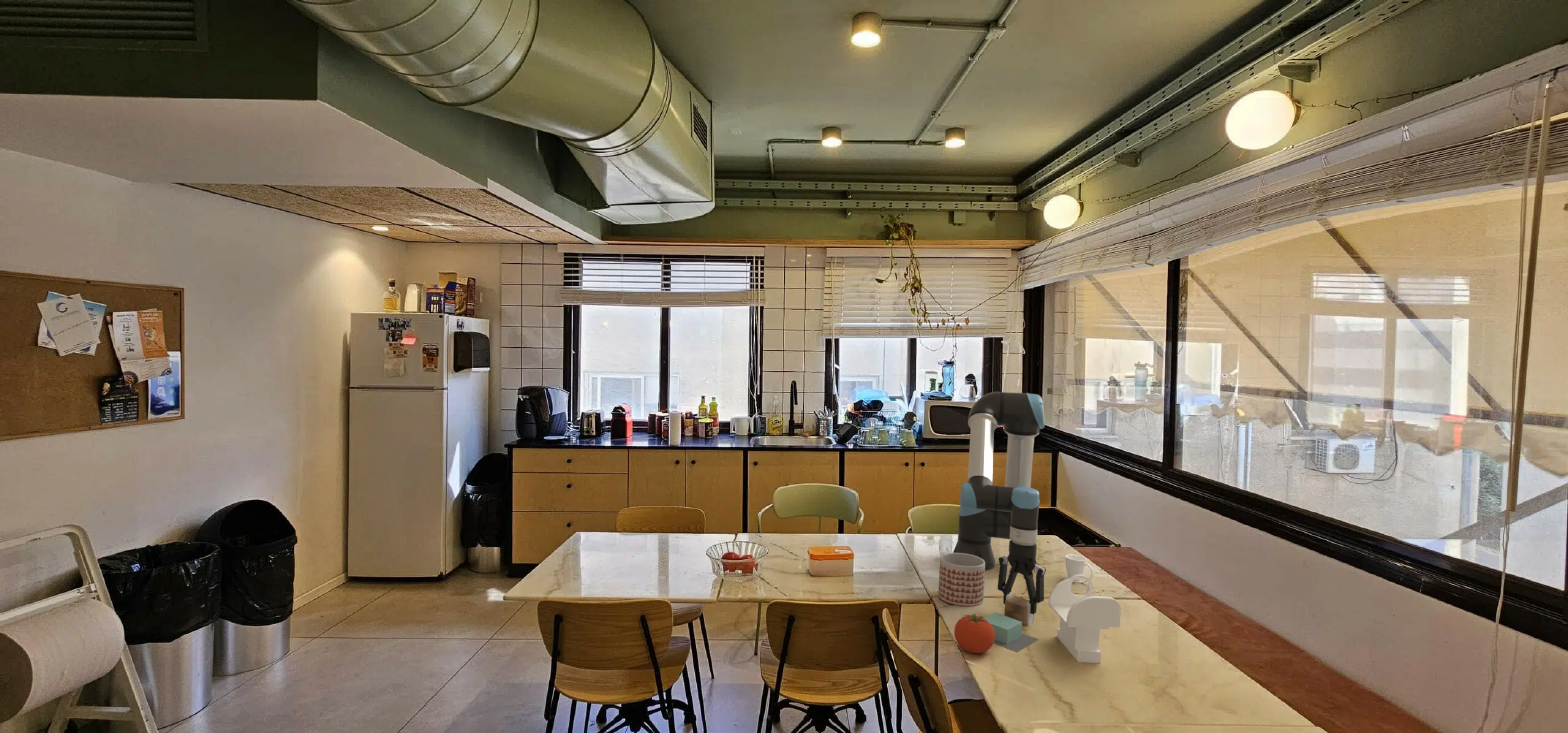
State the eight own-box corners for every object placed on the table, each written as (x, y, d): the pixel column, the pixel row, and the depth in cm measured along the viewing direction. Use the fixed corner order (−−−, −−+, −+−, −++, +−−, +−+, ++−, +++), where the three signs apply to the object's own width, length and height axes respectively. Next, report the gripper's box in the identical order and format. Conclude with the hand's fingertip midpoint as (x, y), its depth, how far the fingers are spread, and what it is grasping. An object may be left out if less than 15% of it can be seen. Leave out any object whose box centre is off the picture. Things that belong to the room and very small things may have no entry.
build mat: (963, 632, 187) (963, 631, 187) (985, 621, 195) (985, 619, 195) (1017, 653, 175) (1017, 652, 175) (1038, 640, 184) (1038, 639, 184)
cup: (1071, 575, 238) (1072, 553, 237) (1098, 584, 229) (1099, 561, 229) (1059, 578, 234) (1060, 556, 233) (1086, 588, 225) (1087, 564, 225)
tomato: (987, 665, 169) (989, 625, 168) (947, 653, 174) (949, 615, 174) (998, 649, 177) (1000, 612, 177) (960, 639, 183) (962, 603, 182)
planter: (986, 596, 215) (988, 556, 214) (979, 611, 202) (981, 569, 202) (943, 588, 221) (945, 549, 220) (933, 602, 208) (935, 561, 208)
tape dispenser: (1046, 637, 186) (1050, 573, 185) (1093, 639, 186) (1097, 575, 185) (1066, 661, 172) (1070, 592, 171) (1117, 664, 172) (1121, 595, 171)
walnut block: (1004, 620, 196) (1005, 600, 196) (1014, 615, 201) (1015, 595, 200) (1023, 627, 192) (1024, 607, 192) (1033, 622, 196) (1034, 602, 196)
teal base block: (979, 634, 185) (980, 620, 185) (994, 626, 191) (995, 612, 191) (1006, 644, 180) (1007, 629, 179) (1021, 636, 185) (1022, 622, 185)
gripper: (987, 536, 200) (983, 612, 201) (1048, 552, 186) (1043, 634, 187) (999, 531, 205) (995, 606, 206) (1060, 547, 191) (1056, 627, 192)
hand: (1018, 619), depth 196 cm, fingers closed on walnut block, 6 cm apart
